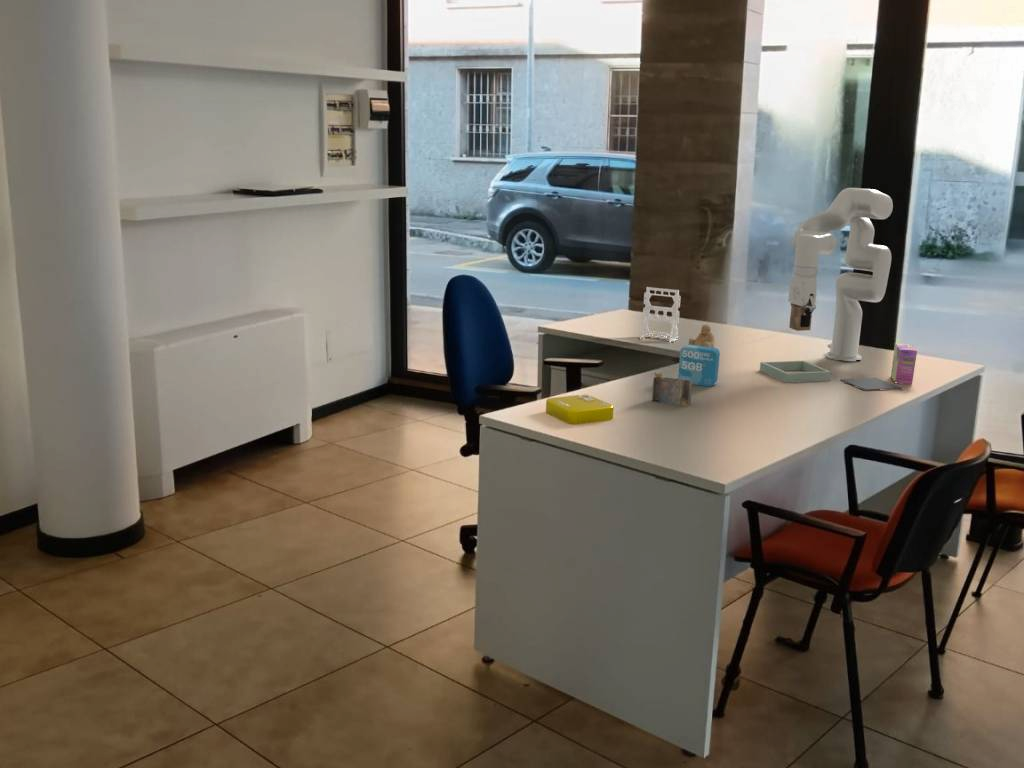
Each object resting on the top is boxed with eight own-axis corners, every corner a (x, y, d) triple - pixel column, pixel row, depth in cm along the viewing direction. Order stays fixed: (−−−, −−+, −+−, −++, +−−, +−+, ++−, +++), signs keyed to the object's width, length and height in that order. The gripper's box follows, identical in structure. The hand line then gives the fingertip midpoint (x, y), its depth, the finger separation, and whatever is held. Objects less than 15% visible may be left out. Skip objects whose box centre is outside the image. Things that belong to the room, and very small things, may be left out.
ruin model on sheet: (651, 403, 319) (653, 371, 316) (653, 400, 322) (655, 369, 319) (688, 407, 315) (690, 376, 313) (690, 405, 318) (693, 374, 315)
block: (789, 327, 357) (791, 304, 355) (802, 327, 359) (804, 304, 357) (797, 330, 353) (799, 307, 351) (810, 330, 354) (812, 306, 352)
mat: (840, 380, 354) (840, 379, 354) (875, 379, 358) (876, 377, 358) (865, 390, 341) (865, 389, 341) (901, 389, 345) (902, 387, 345)
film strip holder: (682, 337, 416) (686, 287, 411) (672, 344, 404) (676, 292, 399) (647, 333, 421) (650, 284, 417) (636, 339, 409) (640, 288, 404)
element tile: (542, 413, 304) (543, 396, 302) (586, 407, 311) (587, 392, 310) (571, 426, 291) (572, 409, 290) (615, 420, 298) (616, 404, 297)
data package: (677, 382, 344) (680, 346, 341) (681, 379, 348) (684, 343, 345) (713, 387, 339) (716, 350, 336) (717, 384, 343) (720, 348, 340)
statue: (731, 331, 377) (713, 325, 371) (720, 368, 378) (702, 363, 372) (706, 325, 387) (688, 319, 380) (695, 362, 388) (677, 357, 381)
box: (912, 384, 352) (917, 350, 350) (894, 383, 354) (899, 348, 351) (907, 377, 362) (912, 344, 359) (890, 376, 363) (894, 342, 361)
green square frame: (759, 370, 365) (760, 362, 364) (802, 368, 370) (803, 360, 369) (785, 382, 349) (786, 373, 348) (830, 380, 354) (831, 371, 353)
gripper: (782, 267, 357) (777, 320, 362) (809, 275, 342) (804, 330, 346) (801, 267, 360) (796, 319, 364) (829, 275, 344) (824, 329, 348)
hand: (800, 324), depth 355 cm, fingers closed on block, 5 cm apart
